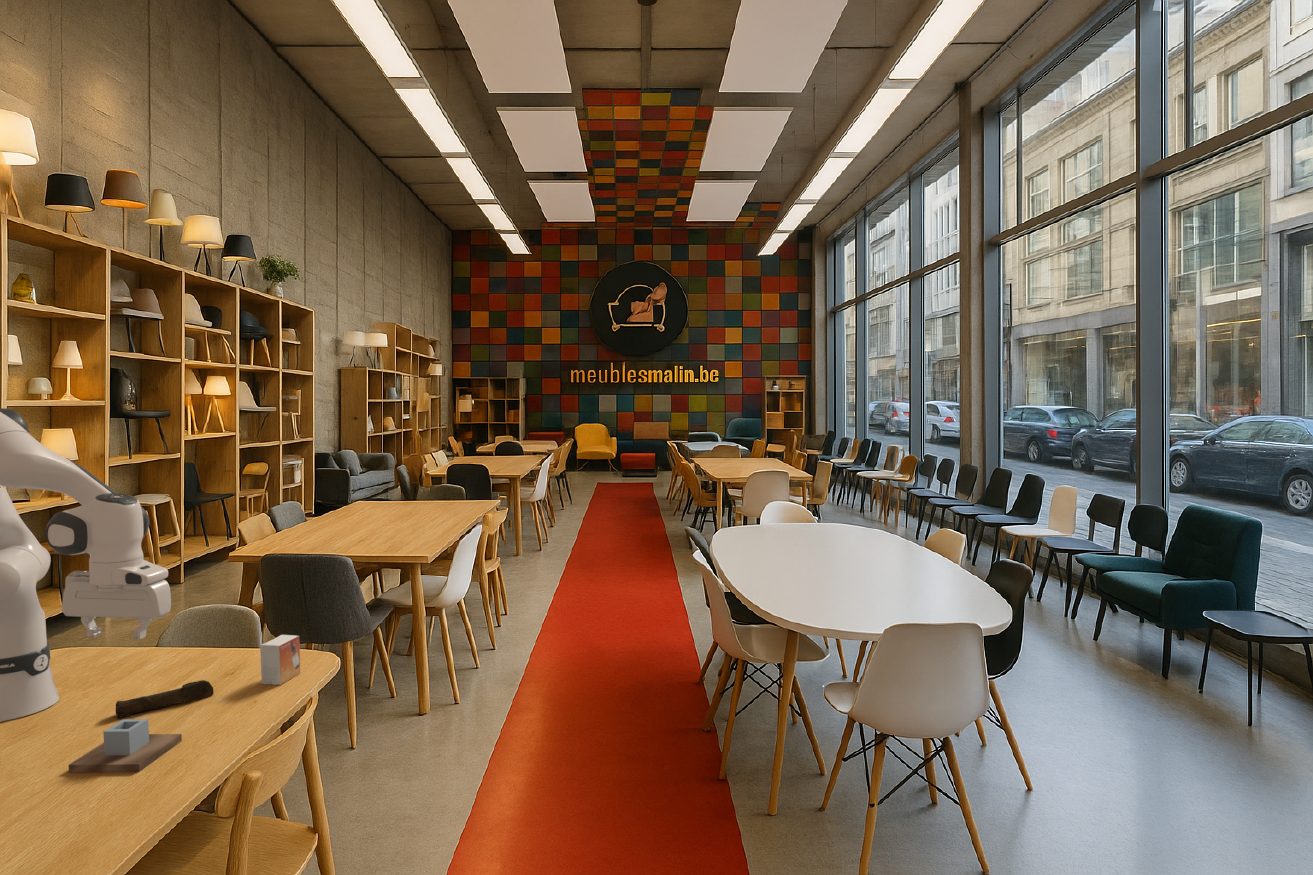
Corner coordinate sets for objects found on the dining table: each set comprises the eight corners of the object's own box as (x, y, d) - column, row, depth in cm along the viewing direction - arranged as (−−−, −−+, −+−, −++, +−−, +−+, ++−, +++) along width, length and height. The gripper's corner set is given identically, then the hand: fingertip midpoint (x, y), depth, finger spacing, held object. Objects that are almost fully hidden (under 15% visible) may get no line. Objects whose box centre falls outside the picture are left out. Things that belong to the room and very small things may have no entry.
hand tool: (115, 721, 154) (114, 702, 154) (116, 715, 158) (115, 695, 157) (213, 700, 165) (212, 682, 165) (213, 694, 168) (212, 676, 168)
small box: (280, 685, 173) (278, 645, 172) (261, 684, 174) (259, 644, 173) (301, 673, 181) (300, 635, 180) (282, 671, 182) (281, 633, 181)
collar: (104, 755, 137) (103, 731, 136) (124, 742, 142) (123, 719, 141) (130, 755, 137) (128, 731, 136) (149, 741, 142) (148, 719, 142)
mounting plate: (68, 772, 133) (67, 746, 133) (117, 741, 145) (115, 717, 145) (139, 771, 133) (138, 745, 133) (181, 740, 145) (180, 716, 145)
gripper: (52, 574, 136) (53, 640, 137) (154, 577, 137) (154, 644, 137) (79, 566, 143) (79, 630, 143) (176, 569, 143) (175, 633, 144)
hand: (116, 637), depth 140 cm, fingers open, 8 cm apart
